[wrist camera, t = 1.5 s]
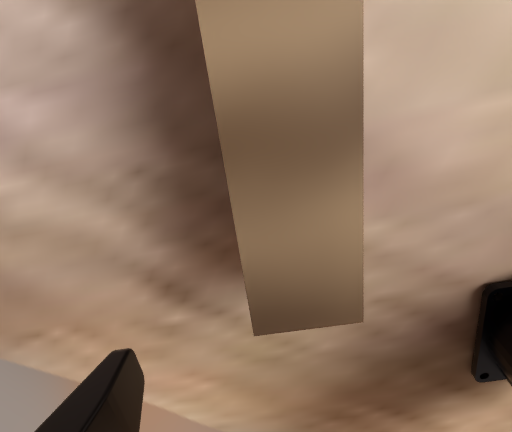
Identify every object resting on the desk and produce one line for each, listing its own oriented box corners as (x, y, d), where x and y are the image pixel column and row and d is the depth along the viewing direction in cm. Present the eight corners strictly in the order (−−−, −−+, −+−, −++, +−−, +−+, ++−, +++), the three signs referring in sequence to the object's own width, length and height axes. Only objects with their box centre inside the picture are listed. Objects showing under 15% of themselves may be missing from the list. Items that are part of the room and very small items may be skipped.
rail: (335, 254, 18) (363, 322, 14) (250, 266, 18) (253, 336, 14) (319, -134, 11) (363, -220, 7) (188, -114, 12) (162, -188, 8)
